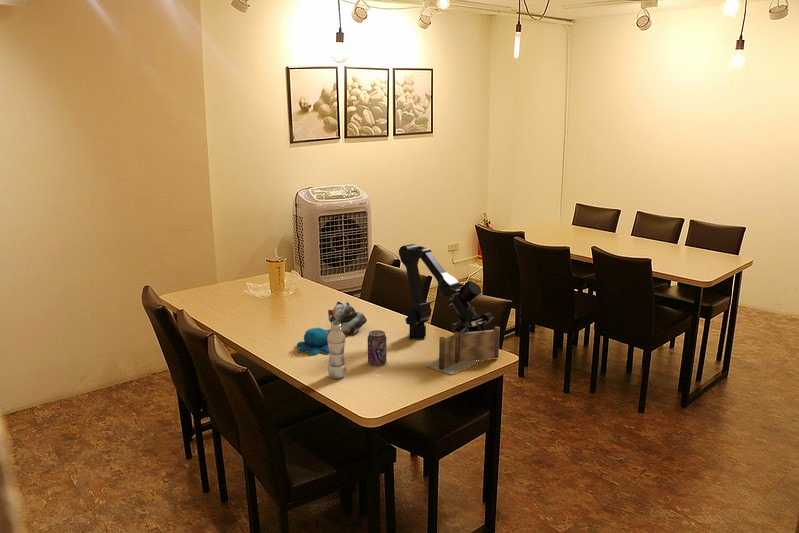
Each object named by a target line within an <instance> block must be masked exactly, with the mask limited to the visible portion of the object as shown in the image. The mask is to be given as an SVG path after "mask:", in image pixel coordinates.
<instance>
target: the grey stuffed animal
mask: <svg viewBox="0 0 799 533" xmlns="http://www.w3.org/2000/svg"><path fill="white" fill-rule="evenodd" d="M327 314H328V319H327V320H328V321H329V322H330V324H331V323H333V322H340V323H341V327H342V329H341V331H342V332H343V334H344V335H345V336H353V335H354V334H356V333H357V332H358V331H359V330H360V329H361V327H363V325H365V324H366V323H367V321H368V319H367V318H366V316H365V315H364V314H363V313H362V312H360V311H356V310H355V307H353V306H352V305H350V303H349V302H348V301H346V302H345V303H342V302H341V301H337V302H336V305H335V306H334V308H333V309H328V311H327Z"/></svg>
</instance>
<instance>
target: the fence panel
mask: <svg viewBox="0 0 799 533" xmlns="http://www.w3.org/2000/svg"><path fill="white" fill-rule="evenodd" d="M500 330H501V329H500V326H494V329H486V331H476V332H468V331H467V332H466V333H459V358H458V361H459V362H462V361H472V360H481V359H486V360H489V359H498V358H499V356H500V355H499V354H500V353H499V351H500V349H499V348H500V333H501V332H500Z"/></svg>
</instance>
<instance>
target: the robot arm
mask: <svg viewBox="0 0 799 533" xmlns="http://www.w3.org/2000/svg"><path fill="white" fill-rule="evenodd" d="M398 256H399V258H400V261H401V263H402V265H404V267H405V269H406V274H407V275H406V276H407V281H408V284H409V291H410V296H411V303H410V308H409V310H410V311H409V312H410V313H409V315H408V316H407V317H406V318H404V320H405V323H406V325H409V326H408V328H409V332H408V333H409V334H408V339H409V340H425V337H426V336H427V325H426V324H425V323H427V322H428V321H429V319H430V317H431V316H432V312H433V310H432V307H431V302H429V301H426V299H425V296H424V292H423V286H422V282H421V276H420V269H419V265H418V264H419V262H420V261H419V260H421V261H422V262H423V264H424V265H425V266H426V268H427V269H428V270H429V272H430V273H431V274H432V275H433V277H434V278H435V279H436V281H437V287H438V289H439V290H440V293H441V294H442V295H443V296H444V297H447V298H448V297H450V298H448V299H447V300H448V301H447V306H451V305H453V307H454V309H455V310H456V312H457V314H458V315H457V318H458V320H457V322H453V323H452V324H451V325H450V329H451V331H452V332H453V333H454V332H455V331H458V332H459V333H466V332H476V331H486V330H487V327H486V326H487V324H488V323H489V322H490V321H491V320H493V319H494V316H493V314H492V313H491V312H487V313H486V312H485V313H483V314H482V315H480V314H477V313H476V312H475V310H474V309H475V306H474V305H471V304H470V303H472V302H473V301H474V300H476V299H477V298H478V297H479V296H480V295H481V294H482V289H481V286H480V285H478V284H477V283H476V282H474V281H472V279H470V280H467V281H466V282H465V283H464V284H463V283H461V282H460V281H459V280H458V279H456V278H455V277H454V276H452V275H451V274H449V273H448V272H447V271H446V270H445V268H444V267H443V266H442V265H441V263H440V262H439V260H438V259H437V258H436V256H435V255H434V254H433V252H432V250H431V248H429V247H424V246H420V245H419V246H418V245H417V244H416V243H411V244H405V245H402V246H401V247H400V248H399V249H398ZM451 296H453V297H451Z"/></svg>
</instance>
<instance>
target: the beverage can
mask: <svg viewBox="0 0 799 533" xmlns="http://www.w3.org/2000/svg"><path fill="white" fill-rule="evenodd" d="M387 343H388V342H387V336H386V332H385V331H384V330H379V329H378V330H377V329H376V330H371V331H369V332H368V336H367V363H368V364H370V365H372V366H378V367H379V366H382V365H383V364H386V363H387Z"/></svg>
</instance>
